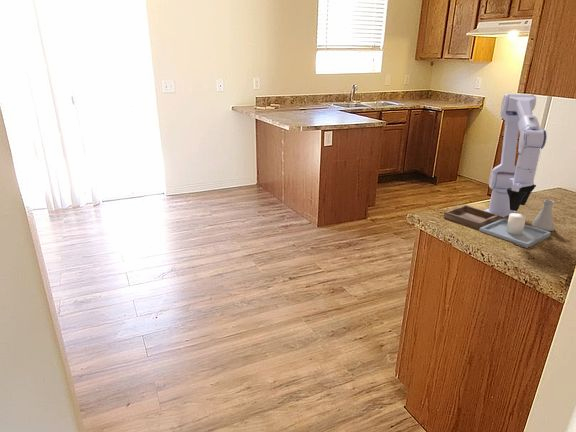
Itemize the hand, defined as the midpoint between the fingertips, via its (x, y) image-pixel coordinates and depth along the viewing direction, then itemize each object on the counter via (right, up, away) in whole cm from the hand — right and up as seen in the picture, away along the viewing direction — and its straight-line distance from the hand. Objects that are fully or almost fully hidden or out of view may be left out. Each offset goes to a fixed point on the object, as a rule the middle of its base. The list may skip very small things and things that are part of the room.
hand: (517, 207), depth 138 cm
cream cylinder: (0, -8, +2) cm, 9 cm away
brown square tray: (-9, -4, +15) cm, 18 cm away
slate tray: (0, -9, +3) cm, 9 cm away
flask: (+13, -7, +8) cm, 17 cm away
